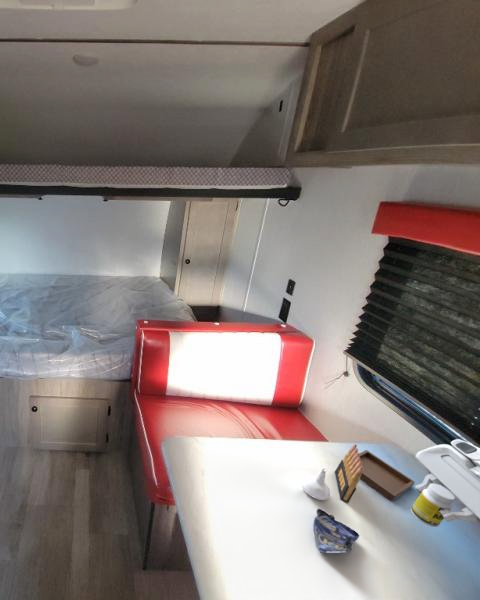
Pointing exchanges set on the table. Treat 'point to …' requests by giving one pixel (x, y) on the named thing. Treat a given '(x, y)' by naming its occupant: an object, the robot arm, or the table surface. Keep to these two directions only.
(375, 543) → the table surface
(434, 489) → the supplement bottle
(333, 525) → the snack package
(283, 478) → the table surface
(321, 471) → the white funnel
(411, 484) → the tray
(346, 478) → the ammunition clip
